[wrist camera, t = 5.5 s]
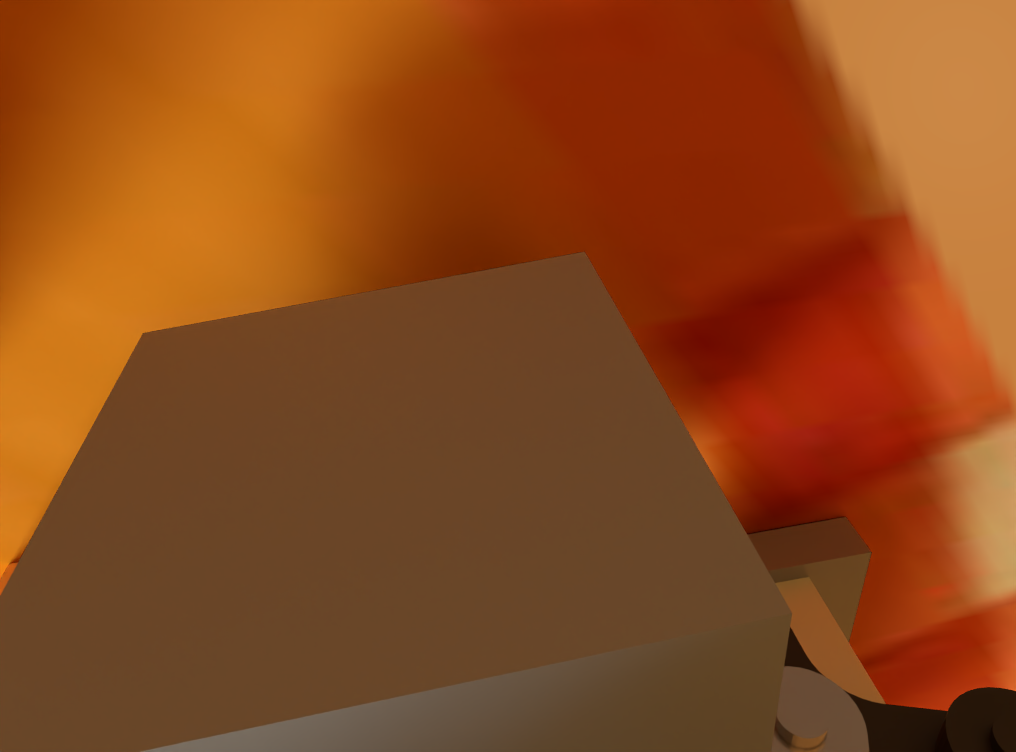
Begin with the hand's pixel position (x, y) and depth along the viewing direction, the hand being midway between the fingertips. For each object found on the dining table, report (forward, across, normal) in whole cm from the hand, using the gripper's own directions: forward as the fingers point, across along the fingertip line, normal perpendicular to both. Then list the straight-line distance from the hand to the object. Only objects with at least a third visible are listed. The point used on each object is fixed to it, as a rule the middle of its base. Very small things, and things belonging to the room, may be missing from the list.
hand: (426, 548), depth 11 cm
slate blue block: (+1, 0, 0) cm, 1 cm away
